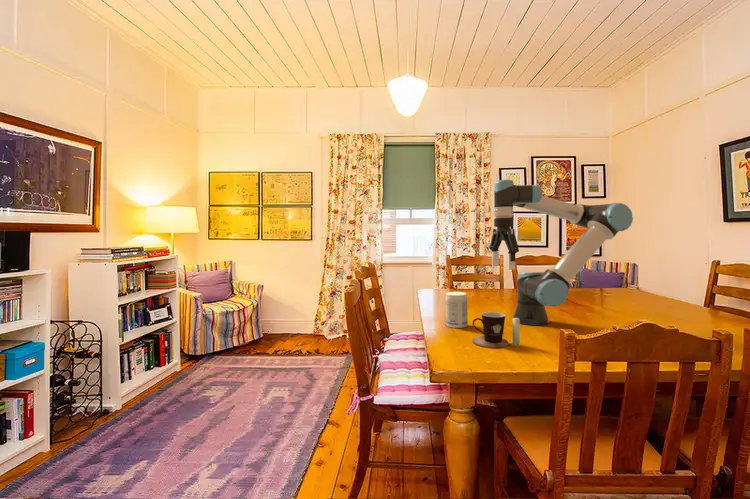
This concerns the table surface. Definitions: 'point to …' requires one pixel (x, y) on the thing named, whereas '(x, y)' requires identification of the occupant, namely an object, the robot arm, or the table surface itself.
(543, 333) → the table surface
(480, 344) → the walnut base
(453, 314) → the supplement tub
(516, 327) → the dowel
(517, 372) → the table surface
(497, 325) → the coffee mug
